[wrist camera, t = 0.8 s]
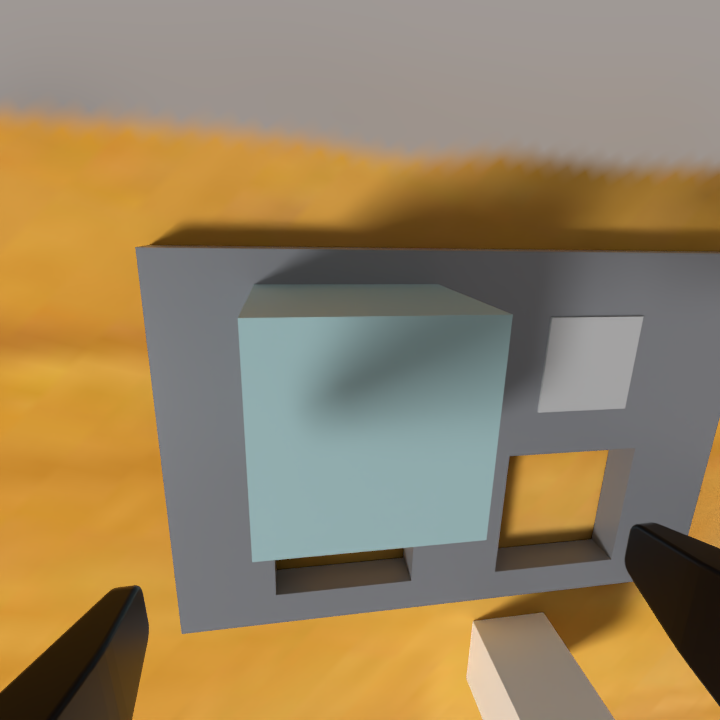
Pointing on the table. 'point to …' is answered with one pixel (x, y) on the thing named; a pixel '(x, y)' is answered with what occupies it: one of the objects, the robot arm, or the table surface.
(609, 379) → the pin board
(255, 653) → the table surface
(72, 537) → the table surface
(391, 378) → the housing
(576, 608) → the table surface
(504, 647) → the white rectangular prism
